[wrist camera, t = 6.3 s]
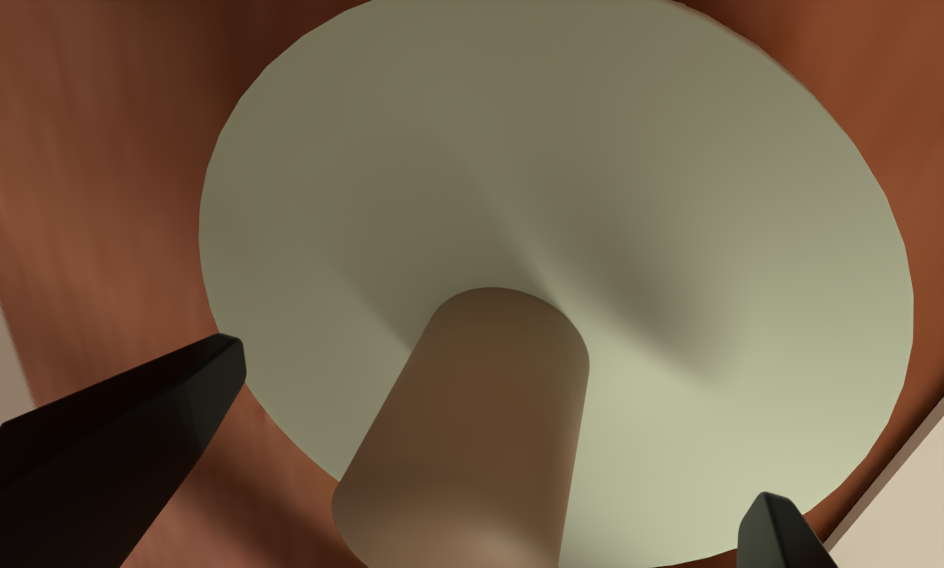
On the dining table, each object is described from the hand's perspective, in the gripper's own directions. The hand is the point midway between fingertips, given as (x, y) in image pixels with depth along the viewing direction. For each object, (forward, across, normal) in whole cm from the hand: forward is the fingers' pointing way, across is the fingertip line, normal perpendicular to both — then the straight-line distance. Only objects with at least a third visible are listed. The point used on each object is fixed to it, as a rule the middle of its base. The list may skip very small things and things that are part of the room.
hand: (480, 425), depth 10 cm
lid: (+2, 0, 0) cm, 3 cm away
